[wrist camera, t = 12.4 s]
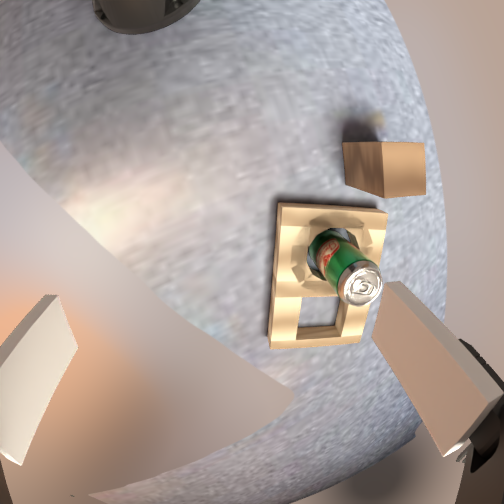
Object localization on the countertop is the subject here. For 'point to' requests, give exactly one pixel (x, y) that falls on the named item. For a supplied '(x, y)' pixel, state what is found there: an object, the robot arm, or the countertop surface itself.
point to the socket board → (317, 272)
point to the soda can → (346, 268)
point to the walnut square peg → (385, 168)
